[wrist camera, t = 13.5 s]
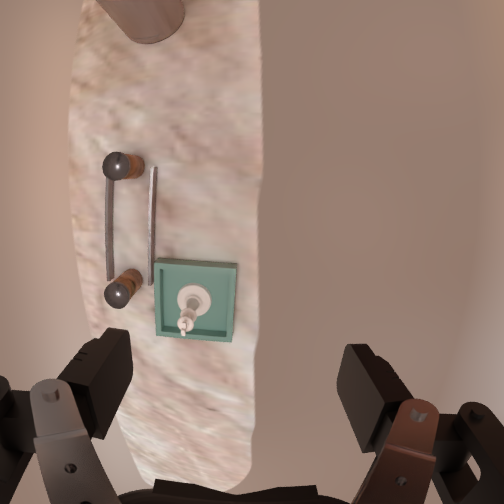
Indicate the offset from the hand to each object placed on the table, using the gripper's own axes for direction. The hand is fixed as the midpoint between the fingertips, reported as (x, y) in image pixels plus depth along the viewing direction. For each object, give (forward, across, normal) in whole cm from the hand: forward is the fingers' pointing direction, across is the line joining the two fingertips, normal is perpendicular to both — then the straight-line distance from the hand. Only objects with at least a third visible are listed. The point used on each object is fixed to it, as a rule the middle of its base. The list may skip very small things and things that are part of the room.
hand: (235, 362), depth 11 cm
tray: (+32, +6, +11) cm, 34 cm away
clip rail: (+32, +15, +1) cm, 35 cm away
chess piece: (+32, +6, +11) cm, 34 cm away
